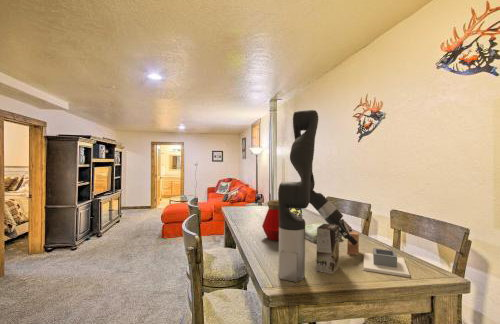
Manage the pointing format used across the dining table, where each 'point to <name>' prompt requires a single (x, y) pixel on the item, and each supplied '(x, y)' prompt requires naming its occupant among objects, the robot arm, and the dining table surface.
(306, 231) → the towel
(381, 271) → the socket stand
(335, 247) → the coffee box
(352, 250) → the peg
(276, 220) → the bottle
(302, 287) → the dining table surface
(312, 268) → the dining table surface
